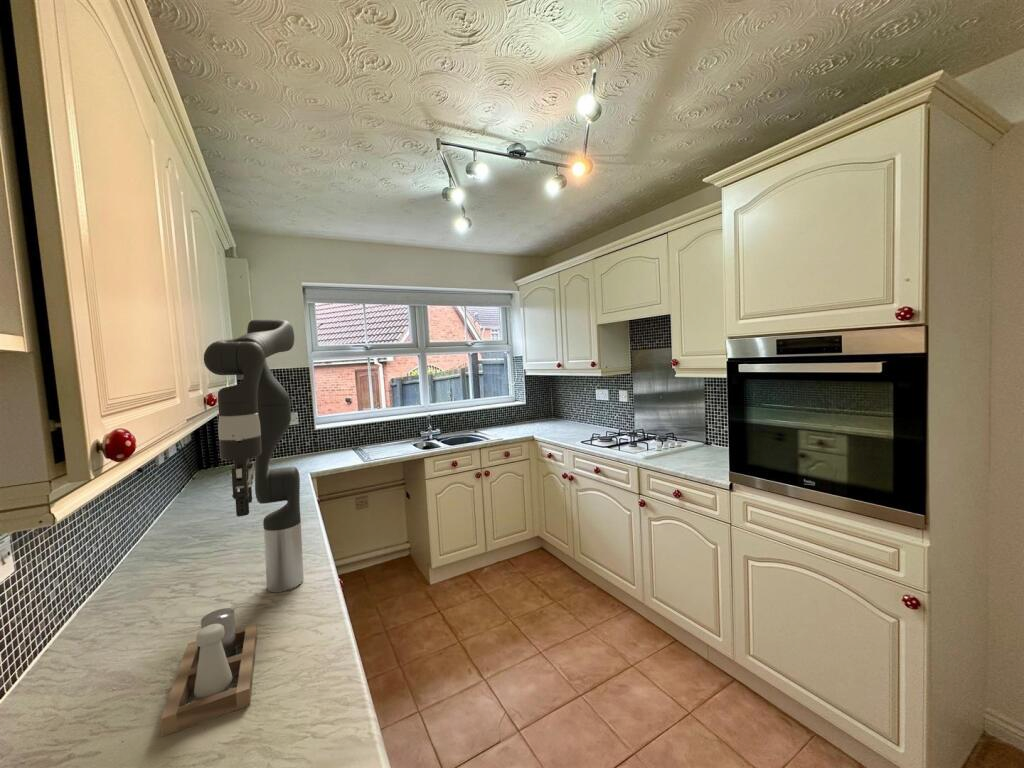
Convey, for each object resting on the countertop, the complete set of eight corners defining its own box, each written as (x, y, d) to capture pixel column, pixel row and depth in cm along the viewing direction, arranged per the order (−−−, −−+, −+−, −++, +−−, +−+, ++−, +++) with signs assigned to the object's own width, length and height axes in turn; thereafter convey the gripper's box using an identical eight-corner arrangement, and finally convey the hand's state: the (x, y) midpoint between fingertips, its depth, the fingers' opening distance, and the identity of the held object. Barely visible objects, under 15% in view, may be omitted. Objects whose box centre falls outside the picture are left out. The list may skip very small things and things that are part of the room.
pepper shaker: (206, 659, 86) (203, 613, 86) (238, 650, 89) (235, 605, 89) (201, 676, 81) (198, 627, 81) (235, 666, 84) (232, 618, 84)
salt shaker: (227, 679, 80) (224, 614, 80) (237, 693, 77) (233, 626, 76) (190, 698, 76) (186, 630, 76) (199, 714, 72) (194, 642, 72)
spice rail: (188, 657, 87) (187, 643, 87) (257, 637, 93) (256, 624, 93) (162, 736, 68) (160, 718, 68) (250, 704, 74) (249, 688, 74)
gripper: (223, 432, 92) (228, 502, 93) (213, 442, 80) (219, 524, 81) (262, 428, 96) (266, 496, 97) (258, 438, 83) (263, 516, 84)
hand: (244, 509), depth 89 cm, fingers open, 8 cm apart
